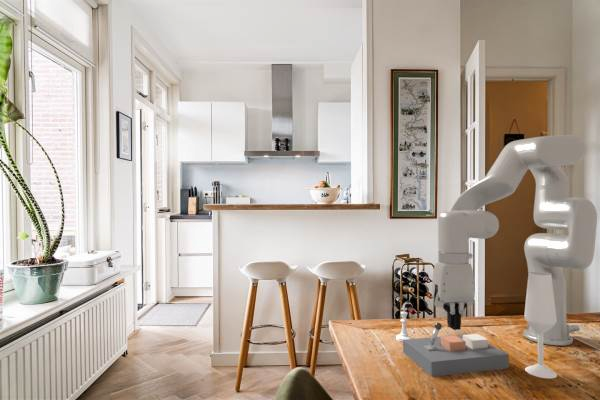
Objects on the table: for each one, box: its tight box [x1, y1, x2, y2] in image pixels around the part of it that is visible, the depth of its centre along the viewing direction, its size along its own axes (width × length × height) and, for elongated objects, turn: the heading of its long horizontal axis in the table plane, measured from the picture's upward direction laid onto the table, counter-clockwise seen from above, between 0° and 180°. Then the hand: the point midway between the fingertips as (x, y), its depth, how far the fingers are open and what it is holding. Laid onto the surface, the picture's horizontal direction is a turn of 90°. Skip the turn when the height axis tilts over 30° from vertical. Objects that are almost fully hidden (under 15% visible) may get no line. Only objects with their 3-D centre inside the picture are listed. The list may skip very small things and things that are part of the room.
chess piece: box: [395, 305, 413, 343], centre depth 117 cm, size 5×5×10 cm
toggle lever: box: [429, 322, 443, 346], centre depth 101 cm, size 2×2×6 cm
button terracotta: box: [440, 335, 466, 351], centre depth 102 cm, size 4×4×2 cm
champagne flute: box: [523, 272, 558, 379], centre depth 94 cm, size 7×7×24 cm
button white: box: [462, 333, 489, 349], centre depth 103 cm, size 4×4×2 cm
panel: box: [402, 333, 510, 377], centre depth 102 cm, size 21×15×4 cm
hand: (454, 328), depth 102 cm, fingers closed
